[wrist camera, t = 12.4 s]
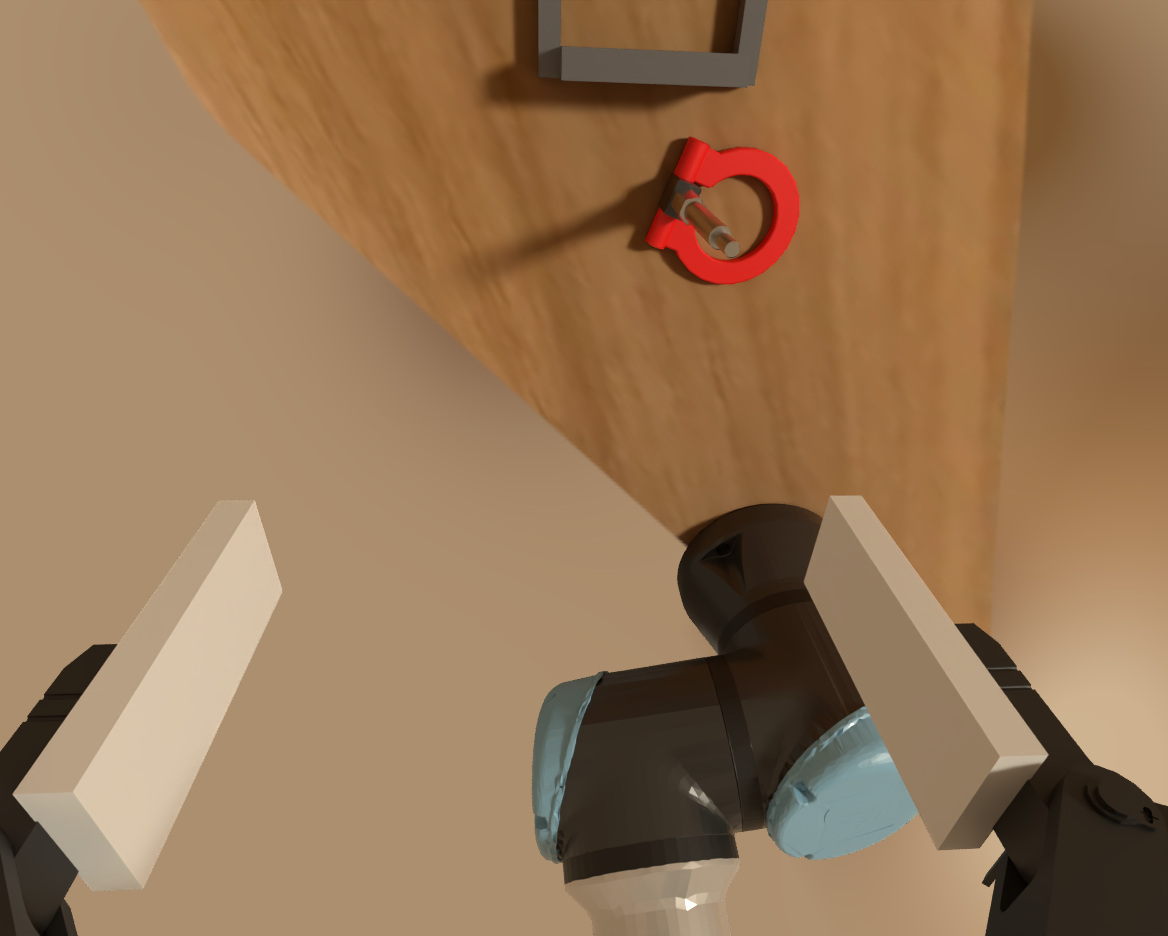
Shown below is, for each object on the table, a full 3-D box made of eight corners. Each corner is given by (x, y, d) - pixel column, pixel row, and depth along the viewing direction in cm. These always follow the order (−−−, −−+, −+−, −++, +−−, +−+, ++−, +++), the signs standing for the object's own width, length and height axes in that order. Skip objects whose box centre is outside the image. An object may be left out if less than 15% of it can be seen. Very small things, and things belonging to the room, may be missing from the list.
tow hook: (817, 175, 41) (692, 117, 39) (925, 227, 31) (763, 152, 28) (752, 295, 45) (635, 250, 43) (828, 377, 35) (679, 323, 32)
